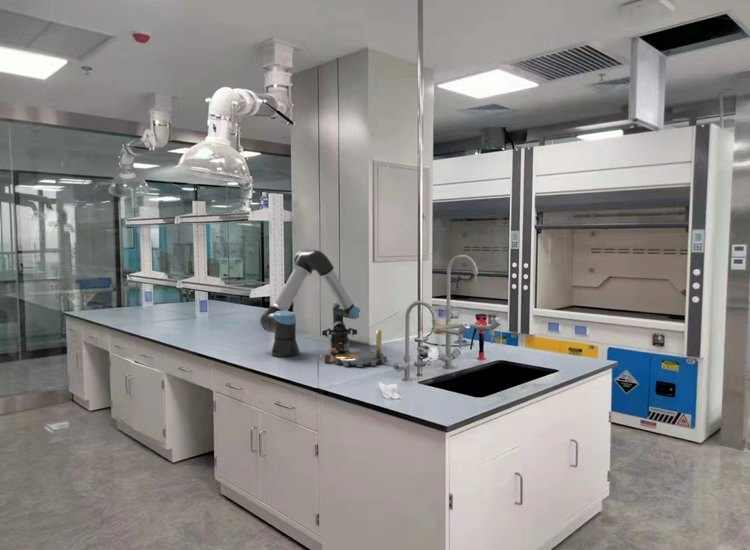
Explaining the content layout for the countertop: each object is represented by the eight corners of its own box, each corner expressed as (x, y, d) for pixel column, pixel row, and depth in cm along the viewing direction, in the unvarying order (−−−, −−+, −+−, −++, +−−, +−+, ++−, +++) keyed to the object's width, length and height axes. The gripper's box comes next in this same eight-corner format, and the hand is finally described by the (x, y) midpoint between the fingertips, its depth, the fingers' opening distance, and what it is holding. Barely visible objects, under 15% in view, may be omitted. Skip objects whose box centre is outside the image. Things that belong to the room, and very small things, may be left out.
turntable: (321, 361, 266) (321, 330, 265) (356, 352, 288) (356, 323, 287) (363, 369, 249) (362, 336, 248) (397, 359, 271) (396, 328, 270)
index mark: (324, 363, 265) (324, 355, 265) (324, 361, 269) (324, 353, 269) (330, 363, 266) (330, 355, 265) (330, 361, 270) (330, 353, 269)
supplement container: (326, 354, 287) (326, 332, 287) (341, 351, 294) (341, 330, 294) (337, 357, 279) (337, 335, 279) (353, 354, 286) (353, 332, 286)
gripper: (359, 334, 319) (361, 340, 297) (319, 335, 317) (318, 342, 295) (359, 321, 318) (361, 327, 297) (318, 323, 316) (317, 329, 295)
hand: (339, 335), depth 296 cm, fingers open, 13 cm apart
